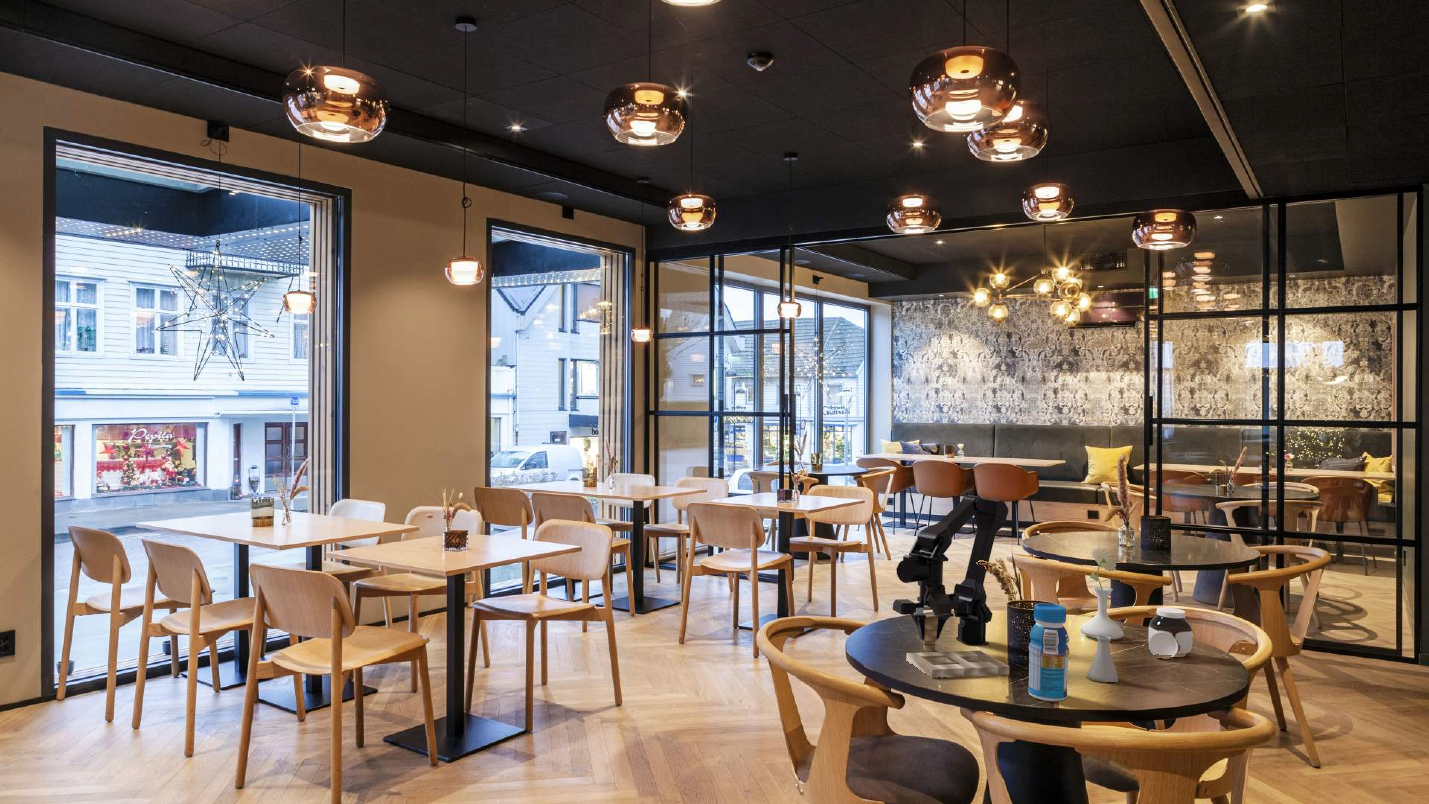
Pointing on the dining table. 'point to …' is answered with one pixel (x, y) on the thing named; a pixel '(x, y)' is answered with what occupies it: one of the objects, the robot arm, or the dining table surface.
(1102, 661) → the flask
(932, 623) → the peg
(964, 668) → the board
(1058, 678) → the beverage bottle
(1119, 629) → the flower in vase
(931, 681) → the dining table surface
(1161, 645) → the spread jar
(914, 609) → the robot arm
